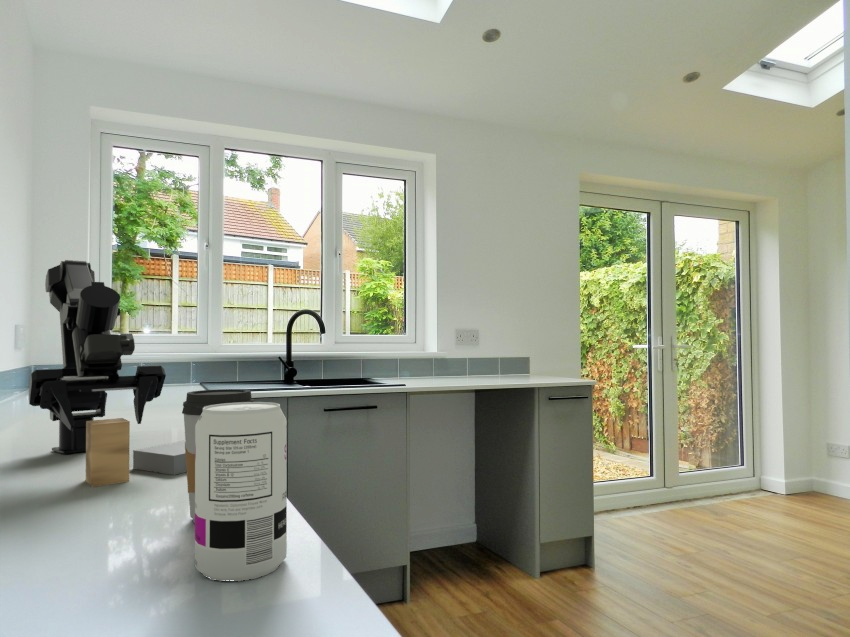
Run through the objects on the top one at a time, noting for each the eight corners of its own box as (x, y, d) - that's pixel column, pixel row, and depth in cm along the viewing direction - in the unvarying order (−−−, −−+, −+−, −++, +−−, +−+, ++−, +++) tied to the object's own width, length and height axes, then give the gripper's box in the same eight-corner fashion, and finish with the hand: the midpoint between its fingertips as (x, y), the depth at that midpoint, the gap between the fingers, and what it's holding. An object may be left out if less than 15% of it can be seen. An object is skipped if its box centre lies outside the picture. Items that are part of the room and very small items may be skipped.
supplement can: (175, 574, 53) (176, 408, 53) (242, 545, 60) (242, 399, 60) (240, 592, 49) (241, 413, 49) (304, 558, 56) (304, 403, 57)
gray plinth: (133, 468, 96) (133, 450, 96) (184, 457, 105) (184, 440, 105) (173, 474, 91) (174, 455, 91) (223, 462, 100) (223, 445, 100)
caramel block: (85, 480, 88) (86, 421, 88) (122, 475, 91) (122, 417, 92) (91, 486, 84) (91, 424, 85) (129, 481, 87) (129, 421, 88)
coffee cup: (241, 529, 65) (242, 395, 65) (168, 529, 65) (168, 395, 66) (264, 507, 73) (264, 388, 74) (198, 507, 73) (199, 388, 74)
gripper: (31, 316, 87) (38, 394, 78) (163, 318, 99) (182, 386, 90) (26, 367, 93) (31, 445, 84) (150, 363, 105) (167, 431, 96)
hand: (107, 425), depth 88 cm, fingers open, 9 cm apart
